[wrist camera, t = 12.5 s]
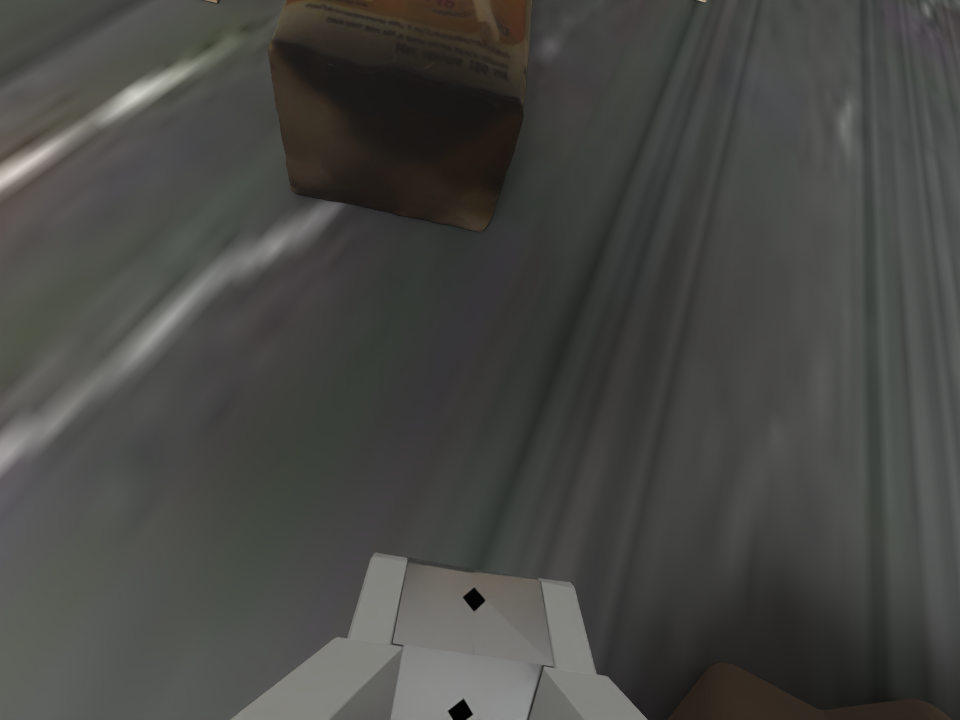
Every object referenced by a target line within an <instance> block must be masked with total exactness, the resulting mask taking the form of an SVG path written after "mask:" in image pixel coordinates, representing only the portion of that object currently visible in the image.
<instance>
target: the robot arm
mask: <svg viewBox="0 0 960 720" xmlns="http://www.w3.org/2000/svg"><path fill="white" fill-rule="evenodd" d="M407 560H408V564H407ZM406 567H407V569H406ZM405 573H406V574H405ZM230 720H648V719H647V718H646V717H645V716H644V715H643V714H642V713H641V712H640V711H639V710H638V709H637V708H636V707H635V705H634V704H633V703H632V702H631V701H630V700H629V699H628V698H627V697H626V696H625V695H624V694H623V692H622V691H621V690H620V689H619V688H618V687H617V686H616V685H615V684H614V683H613V682H612V681H611V680H610V678H609V677H608V676H603V675H597V673H596V669H595V666H594V662H593V658H592V654H591V650H590V646H589V642H588V638H587V634H586V630H585V626H584V623H583V619H582V615H581V611H580V607H579V603H578V599H577V595H576V591H575V587H574V586H573V585H572V584H571V583H570V582H564V581H556V580H549V579H541V578H538V579H533V578H526V577H519V576H513V575H506V574H499V573H492V572H486V571H479V570H474V569H469V568H463V567H458V566H452V565H446V564H441V563H435V562H430V561H424V560H418V559H413V558H409V559H407V558H405V557H399V556H393V555H387V554H381V553H374V554H373V556H372V558H371V560H370V563H369V567H368V570H367V573H366V577H365V580H364V583H363V587H362V590H361V593H360V597H359V600H358V603H357V607H356V610H355V613H354V617H353V620H352V623H351V627H350V630H349V633H348V637H347V638H339V637H335V638H334V639H333V640H332V641H330V642H329V643H328V644H326V645H325V646H324V647H323V648H321V649H320V650H319V651H317V652H316V653H315V654H314V655H312V656H311V657H310V658H308V659H307V660H306V661H305V662H303V663H302V664H301V665H300V666H298V667H297V668H296V669H294V670H293V671H292V672H291V673H289V674H288V675H287V676H285V677H284V678H283V679H282V680H280V681H279V682H278V683H276V684H275V685H274V686H273V687H271V688H270V689H269V690H267V691H266V692H265V693H264V694H262V695H261V696H260V697H258V698H257V699H256V700H255V701H253V702H252V703H251V704H250V705H248V706H247V707H246V708H244V709H243V710H242V711H241V712H239V713H238V714H237V715H235V716H234V717H233V718H232V719H230Z"/></svg>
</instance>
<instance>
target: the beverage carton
mask: <svg viewBox="0 0 960 720" xmlns="http://www.w3.org/2000/svg"><path fill="white" fill-rule="evenodd" d="M531 14H532V0H286V1H285V4H284V6H283V8H282V11H281V13H280V16H279V20H278V23H277V26H276V29H275V32H274V35H273V37H272V39H271V40H270V42H269V46H268V56H269V61H270V67H271V74H272V83H273V88H274V94H275V101H276V109H277V112H278V114H279V121H280V130H281V135H282V140H283V145H284V149H285V153H286V166H287V170H288V175H289V180H290V187H291V190H292V191H293V192H294V193H296V194H302V195H307V196H312V197H316V198H321V199H324V200H330V201H337V202H343V203H349V204H354V205H358V206H363V207H367V208H371V209H376V210H382V211H388V212H391V213H394V214H396V215H399V216H406V217H412V218H419V219H425V220H428V221H432V222H436V223H440V224H448V225H453V226H456V227H460V228H464V229H468V230H472V231H478V232H480V231H483V230H484V229H485V228H486V226H487V225H488V224H489V222H490V219H491V217H492V215H493V212H494V209H495V206H496V203H497V199H498V196H499V194H500V192H501V189H502V186H503V183H504V180H505V176H506V172H507V170H508V167H509V165H510V162H511V159H512V156H513V153H514V150H515V146H516V142H517V138H518V135H519V132H520V128H521V125H522V121H523V105H524V98H525V91H526V80H527V69H528V59H529V47H530V30H531Z"/></svg>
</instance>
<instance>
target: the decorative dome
mask: <svg viewBox="0 0 960 720" xmlns="http://www.w3.org/2000/svg"><path fill="white" fill-rule="evenodd" d="M667 720H952V719H951V718H950V717H949V716H948V715H946V714H945V713H944V712H943V711H941V710H940V709H939V708H937V707H935V706H934V705H931V704H929V703H927V702H925V701H922V700H918V699H901V700H894V701H887V702H880V703H871V704H862V705H856V706H848V707H841V708H834V709H823V710H820V709H817V708H815V707H813V706H811V705H809V704H807V703H805V702H804V701H802V700H800V699H798V698H796V697H794V696H792V695H790V694H788V693H787V692H785V691H783V690H781V689H779V688H777V687H776V686H774V685H772V684H770V683H768V682H766V681H764V680H762V679H760V678H759V677H757V676H755V675H753V674H751V673H749V672H747V671H745V670H743V669H742V668H740V667H738V666H736V665H734V664H731V663H726V662H719V663H715V664H713V665H711V666H710V667H709V668H707V669H706V671H705V672H704V673H703V675H702V676H701V677H700V678H699V680H698V681H697V682H696V683H695V685H694V686H693V687H692V688H691V690H690V691H689V692H688V693H687V695H686V696H685V697H684V699H683V700H682V701H681V703H680V704H679V705H678V706H677V708H676V709H675V710H674V712H673V713H672V714H671V716H670V717H669V718H668V719H667Z"/></svg>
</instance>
